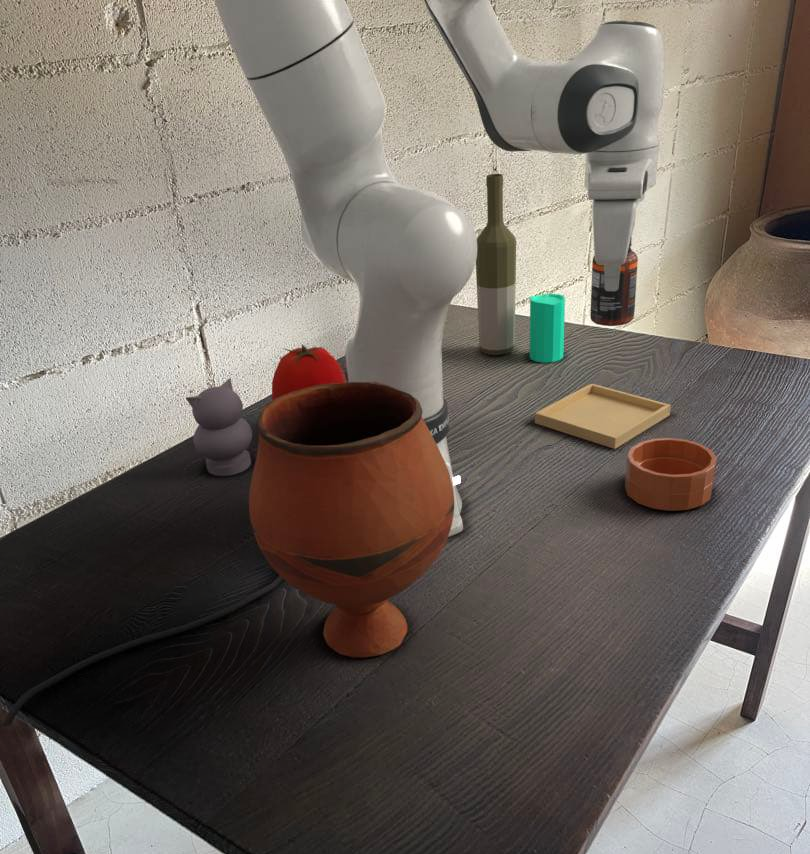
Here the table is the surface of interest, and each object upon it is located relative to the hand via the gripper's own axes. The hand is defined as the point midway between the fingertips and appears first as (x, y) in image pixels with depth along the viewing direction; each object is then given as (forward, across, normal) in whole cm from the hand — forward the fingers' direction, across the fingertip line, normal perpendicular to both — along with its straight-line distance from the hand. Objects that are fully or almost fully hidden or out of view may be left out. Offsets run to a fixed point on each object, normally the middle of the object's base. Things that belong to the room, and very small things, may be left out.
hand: (613, 282), depth 112 cm
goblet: (+21, +54, -19) cm, 61 cm away
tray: (+21, -1, -1) cm, 21 cm away
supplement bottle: (+6, 0, 0) cm, 6 cm away
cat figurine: (+21, +21, -52) cm, 60 cm away
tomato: (+21, +8, -44) cm, 49 cm away
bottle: (+21, -28, -22) cm, 42 cm away
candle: (+21, -26, -12) cm, 36 cm away
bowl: (+21, +20, +9) cm, 30 cm away
